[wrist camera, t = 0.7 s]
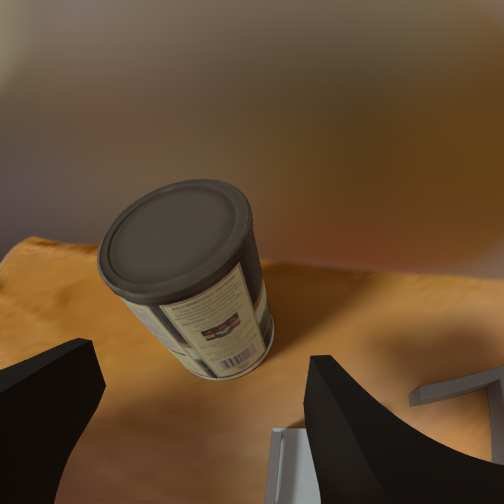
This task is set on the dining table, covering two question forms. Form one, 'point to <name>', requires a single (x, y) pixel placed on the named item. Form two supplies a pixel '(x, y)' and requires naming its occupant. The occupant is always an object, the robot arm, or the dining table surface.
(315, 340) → the dining table surface
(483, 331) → the dining table surface
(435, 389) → the bay
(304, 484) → the box with handle
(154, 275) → the coffee can
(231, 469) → the dining table surface
